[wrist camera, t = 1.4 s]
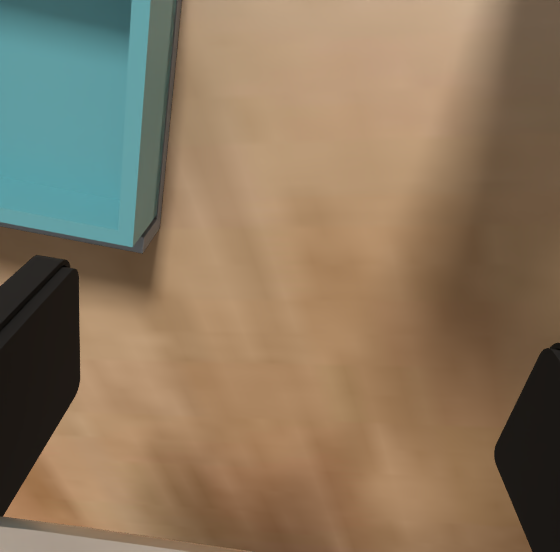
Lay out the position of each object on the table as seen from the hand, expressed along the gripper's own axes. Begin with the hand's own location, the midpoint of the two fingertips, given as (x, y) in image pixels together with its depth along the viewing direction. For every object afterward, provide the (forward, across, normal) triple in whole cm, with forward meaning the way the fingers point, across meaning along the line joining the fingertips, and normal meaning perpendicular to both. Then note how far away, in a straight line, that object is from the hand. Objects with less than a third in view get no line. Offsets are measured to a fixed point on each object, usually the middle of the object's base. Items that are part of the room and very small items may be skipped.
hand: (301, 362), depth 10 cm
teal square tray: (+21, +15, -1) cm, 26 cm away
